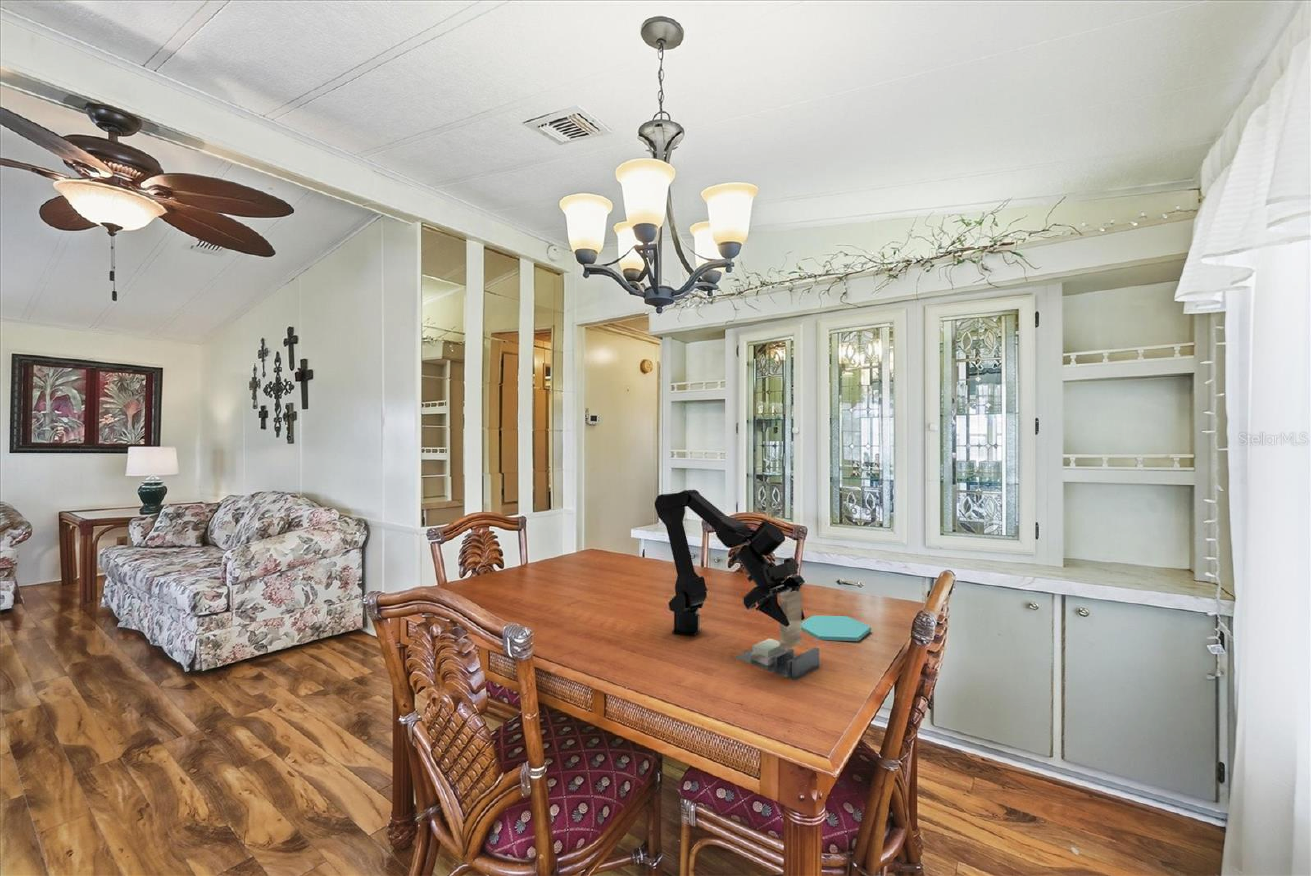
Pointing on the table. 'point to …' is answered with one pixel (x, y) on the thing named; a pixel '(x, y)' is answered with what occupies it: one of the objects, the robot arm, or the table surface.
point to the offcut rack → (788, 663)
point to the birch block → (791, 619)
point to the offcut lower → (764, 658)
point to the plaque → (835, 628)
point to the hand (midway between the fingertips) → (796, 622)
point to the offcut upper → (767, 647)
